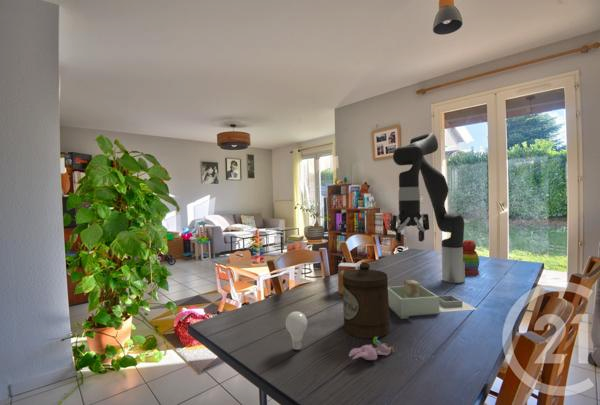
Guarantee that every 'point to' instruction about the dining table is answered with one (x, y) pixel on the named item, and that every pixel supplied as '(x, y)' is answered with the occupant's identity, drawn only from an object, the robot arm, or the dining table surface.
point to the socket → (453, 304)
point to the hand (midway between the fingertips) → (410, 241)
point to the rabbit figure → (371, 350)
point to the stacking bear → (470, 258)
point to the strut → (411, 289)
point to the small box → (341, 269)
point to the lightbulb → (296, 328)
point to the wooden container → (366, 302)
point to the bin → (412, 302)
